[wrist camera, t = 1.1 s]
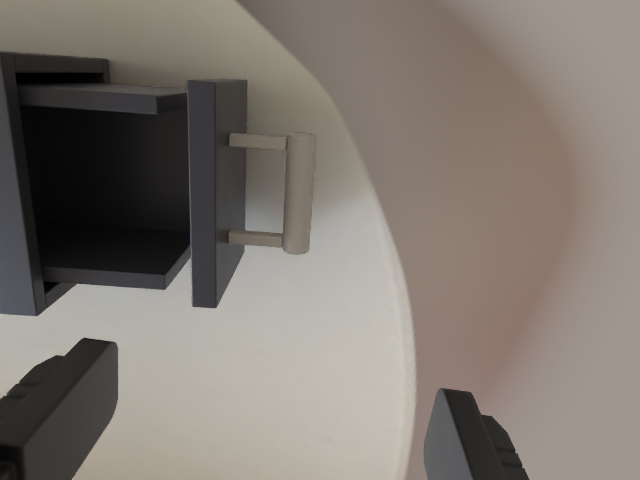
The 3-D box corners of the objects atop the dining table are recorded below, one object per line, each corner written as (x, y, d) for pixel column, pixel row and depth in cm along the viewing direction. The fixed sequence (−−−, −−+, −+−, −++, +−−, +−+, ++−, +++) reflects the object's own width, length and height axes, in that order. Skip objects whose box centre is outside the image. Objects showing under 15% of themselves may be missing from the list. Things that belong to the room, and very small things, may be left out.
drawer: (321, 85, 27) (317, 89, 20) (310, 257, 31) (303, 315, 23) (26, 64, 27) (-88, 60, 20) (48, 238, 31) (-42, 290, 23)
